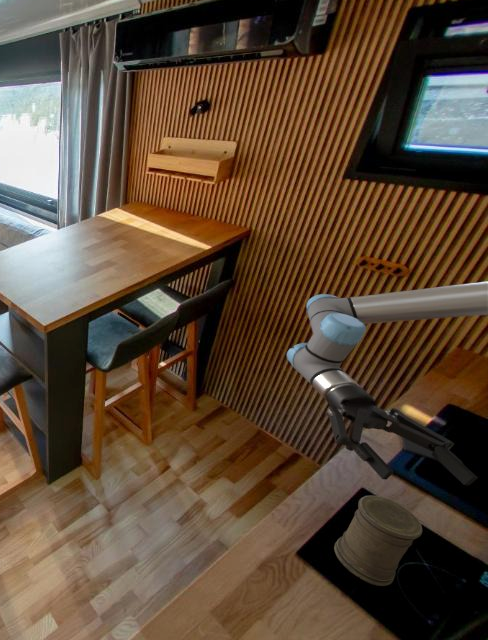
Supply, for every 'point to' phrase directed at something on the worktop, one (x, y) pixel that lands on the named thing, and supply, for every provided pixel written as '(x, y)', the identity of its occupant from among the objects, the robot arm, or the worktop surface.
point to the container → (377, 539)
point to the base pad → (417, 449)
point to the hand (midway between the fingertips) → (429, 478)
